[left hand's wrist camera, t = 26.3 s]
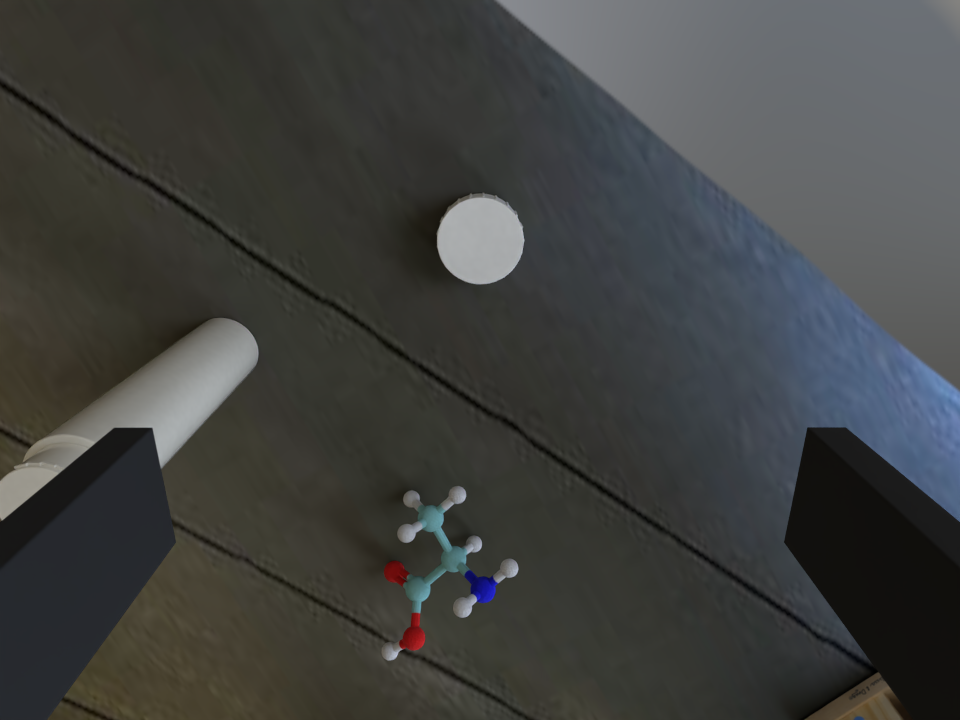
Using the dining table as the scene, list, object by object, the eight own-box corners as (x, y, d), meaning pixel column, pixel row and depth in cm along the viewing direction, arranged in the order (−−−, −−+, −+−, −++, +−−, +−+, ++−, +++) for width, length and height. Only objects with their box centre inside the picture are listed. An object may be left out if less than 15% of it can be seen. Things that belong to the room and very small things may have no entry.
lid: (473, 173, 39) (473, 176, 37) (539, 228, 40) (543, 234, 38) (421, 242, 41) (418, 248, 38) (487, 293, 42) (487, 302, 40)
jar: (269, 370, 44) (122, 542, 26) (208, 387, 44) (22, 567, 26) (242, 309, 42) (66, 447, 24) (180, 327, 43) (-38, 475, 25)
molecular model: (332, 497, 43) (393, 614, 36) (454, 447, 47) (530, 544, 40) (351, 593, 50) (405, 706, 43) (456, 542, 54) (521, 639, 47)
